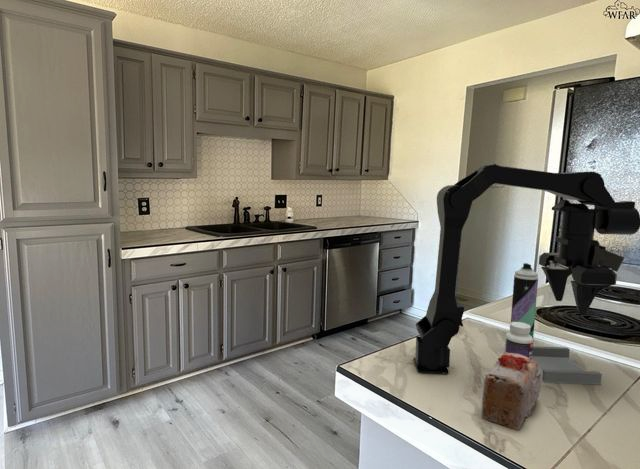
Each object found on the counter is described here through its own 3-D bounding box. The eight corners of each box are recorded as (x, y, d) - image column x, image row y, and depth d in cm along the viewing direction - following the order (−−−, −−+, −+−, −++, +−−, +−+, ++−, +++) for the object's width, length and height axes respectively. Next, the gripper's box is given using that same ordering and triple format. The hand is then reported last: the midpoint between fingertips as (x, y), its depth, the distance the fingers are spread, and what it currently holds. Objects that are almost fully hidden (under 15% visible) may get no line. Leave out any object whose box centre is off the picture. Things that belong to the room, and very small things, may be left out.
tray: (544, 382, 81) (545, 371, 81) (517, 354, 94) (518, 345, 94) (600, 384, 80) (601, 374, 80) (566, 356, 93) (567, 347, 93)
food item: (497, 386, 80) (500, 339, 78) (542, 400, 75) (546, 350, 73) (477, 418, 69) (481, 364, 67) (528, 436, 64) (533, 378, 63)
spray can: (504, 335, 106) (510, 262, 103) (521, 333, 108) (527, 261, 105) (520, 343, 101) (527, 266, 98) (537, 341, 102) (544, 265, 100)
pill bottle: (534, 374, 85) (537, 330, 83) (507, 371, 86) (510, 328, 85) (526, 362, 90) (529, 321, 89) (500, 360, 91) (503, 319, 90)
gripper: (652, 241, 71) (642, 324, 73) (592, 229, 90) (585, 296, 92) (586, 239, 72) (578, 322, 74) (540, 228, 91) (535, 294, 93)
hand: (569, 307), depth 83 cm, fingers open, 9 cm apart
